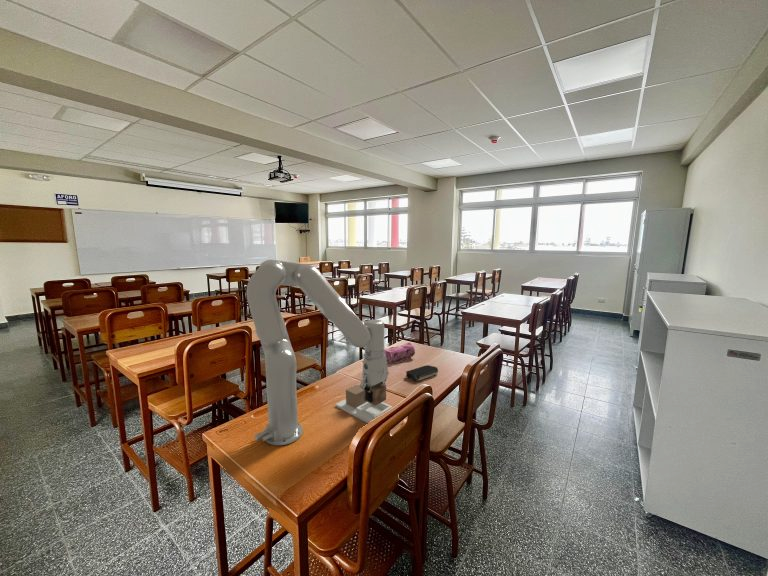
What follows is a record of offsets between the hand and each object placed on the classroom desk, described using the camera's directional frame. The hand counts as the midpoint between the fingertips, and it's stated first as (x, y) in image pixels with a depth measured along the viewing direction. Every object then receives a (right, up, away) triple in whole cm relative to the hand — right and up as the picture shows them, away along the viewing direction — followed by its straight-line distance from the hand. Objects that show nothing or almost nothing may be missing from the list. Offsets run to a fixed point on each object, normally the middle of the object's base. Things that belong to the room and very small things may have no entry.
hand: (375, 397), depth 118 cm
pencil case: (+11, 0, +57) cm, 58 cm away
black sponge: (+23, -3, +36) cm, 43 cm away
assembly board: (-4, -6, +4) cm, 9 cm away
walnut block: (0, -1, 0) cm, 1 cm away
